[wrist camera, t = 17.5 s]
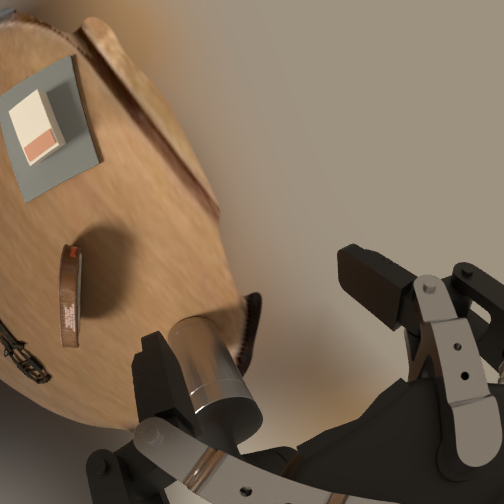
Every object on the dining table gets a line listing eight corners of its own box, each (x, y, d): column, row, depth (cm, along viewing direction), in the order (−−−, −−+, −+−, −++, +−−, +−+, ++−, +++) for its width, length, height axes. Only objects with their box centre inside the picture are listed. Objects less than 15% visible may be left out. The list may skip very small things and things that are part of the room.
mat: (100, 163, 29) (99, 163, 29) (27, 202, 26) (25, 203, 26) (71, 56, 21) (70, 55, 21) (-3, 99, 18) (-5, 99, 18)
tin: (68, 234, 31) (53, 261, 24) (88, 238, 32) (78, 265, 25) (66, 322, 35) (59, 358, 28) (83, 325, 37) (79, 361, 30)
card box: (46, 92, 22) (36, 88, 19) (66, 143, 26) (58, 144, 23) (19, 112, 21) (7, 111, 18) (39, 162, 25) (29, 166, 22)
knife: (-41, 280, 24) (-44, 284, 23) (-22, 268, 26) (-25, 272, 24) (33, 382, 36) (32, 387, 35) (54, 376, 38) (53, 381, 37)
